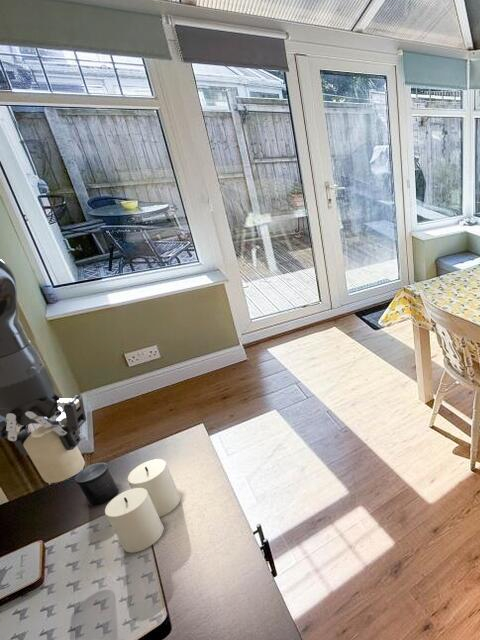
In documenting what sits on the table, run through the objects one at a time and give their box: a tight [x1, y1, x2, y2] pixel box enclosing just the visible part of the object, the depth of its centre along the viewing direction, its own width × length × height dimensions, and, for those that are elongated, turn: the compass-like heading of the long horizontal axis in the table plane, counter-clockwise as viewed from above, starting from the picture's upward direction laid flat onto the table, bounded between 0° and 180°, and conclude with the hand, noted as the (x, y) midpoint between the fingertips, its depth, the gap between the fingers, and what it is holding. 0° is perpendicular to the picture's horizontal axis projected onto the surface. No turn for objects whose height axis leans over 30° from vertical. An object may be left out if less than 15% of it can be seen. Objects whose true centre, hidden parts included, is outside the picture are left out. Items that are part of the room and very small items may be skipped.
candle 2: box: [127, 458, 181, 518], centre depth 84 cm, size 6×6×11 cm
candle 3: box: [104, 488, 165, 554], centre depth 77 cm, size 6×6×11 cm
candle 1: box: [23, 425, 86, 484], centre depth 75 cm, size 6×6×10 cm
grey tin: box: [74, 462, 119, 506], centre depth 86 cm, size 5×5×7 cm
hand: (52, 448), depth 74 cm, fingers closed on candle 1, 5 cm apart
